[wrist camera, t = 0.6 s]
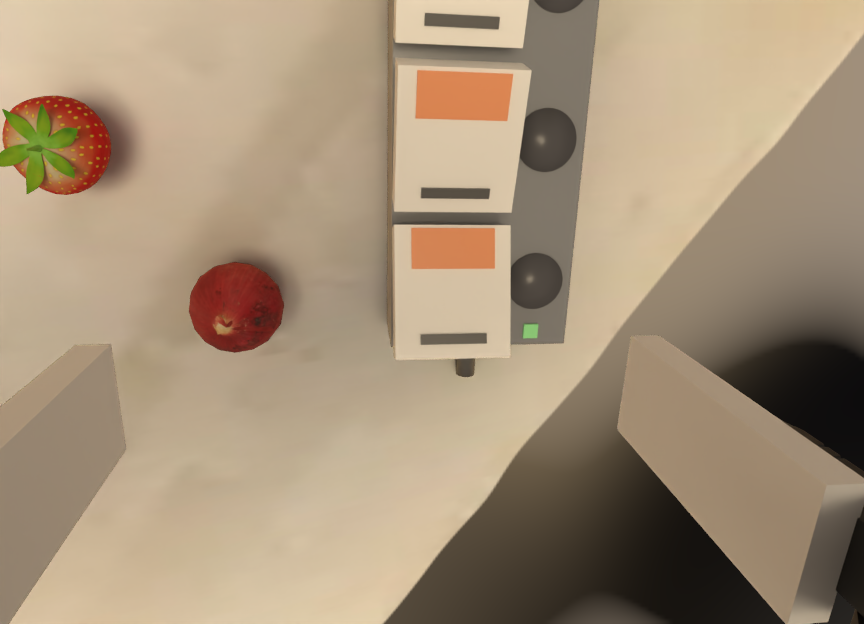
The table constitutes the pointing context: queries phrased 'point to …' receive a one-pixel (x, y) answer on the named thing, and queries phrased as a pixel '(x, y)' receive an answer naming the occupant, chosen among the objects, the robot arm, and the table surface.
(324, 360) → the table surface
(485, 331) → the panel
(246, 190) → the table surface
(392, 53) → the power strip
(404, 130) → the rocker
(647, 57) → the table surface
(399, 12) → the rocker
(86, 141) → the fruit
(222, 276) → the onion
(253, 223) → the table surface
